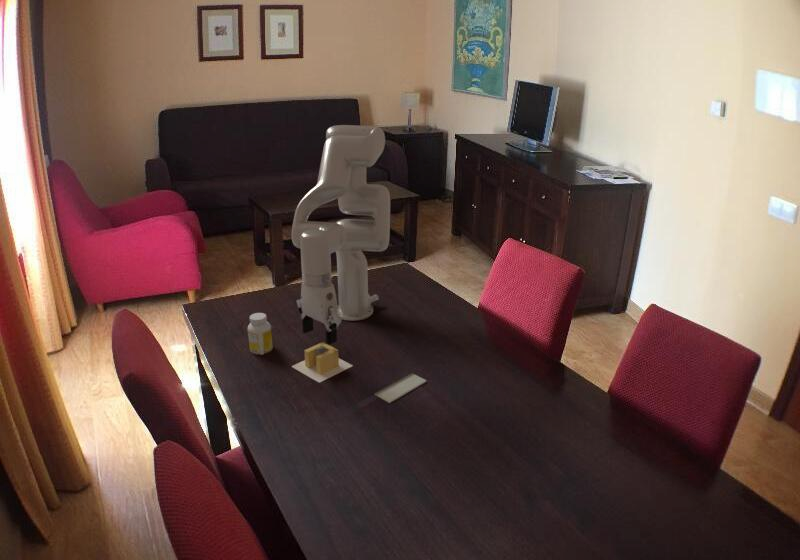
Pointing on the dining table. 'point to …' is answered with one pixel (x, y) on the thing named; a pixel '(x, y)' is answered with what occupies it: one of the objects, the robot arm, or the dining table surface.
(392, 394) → the mat
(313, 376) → the stand
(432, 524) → the dining table surface
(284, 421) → the dining table surface
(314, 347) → the c link
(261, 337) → the pill bottle
